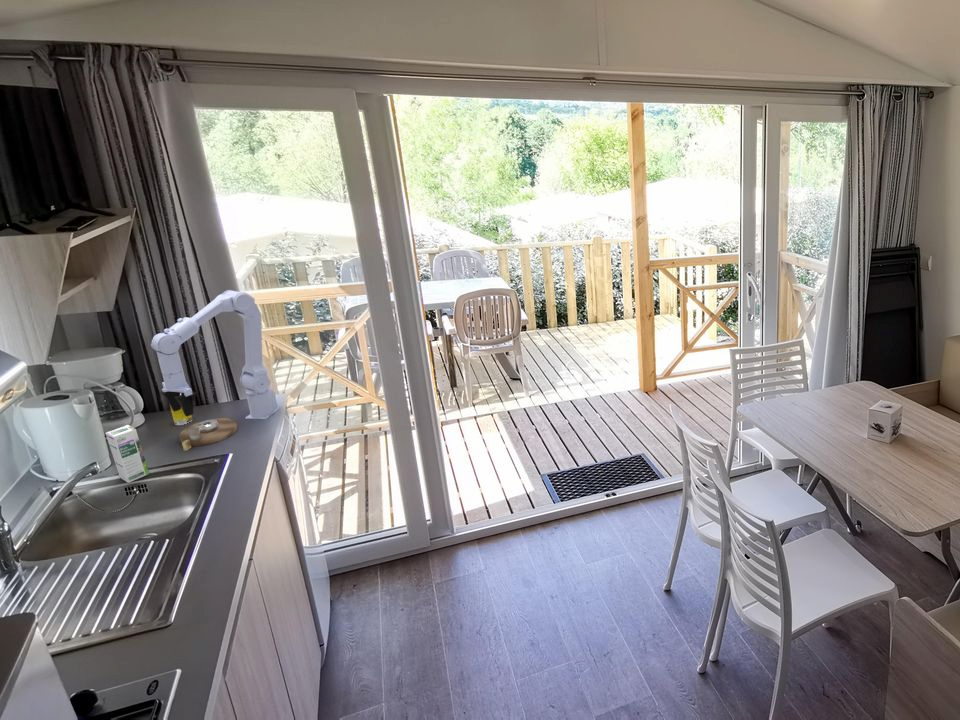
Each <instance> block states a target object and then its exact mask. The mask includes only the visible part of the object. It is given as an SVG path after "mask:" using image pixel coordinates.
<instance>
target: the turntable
mask: <svg viewBox="0 0 960 720" xmlns="http://www.w3.org/2000/svg"><path fill="white" fill-rule="evenodd" d="M209 420H217V422H218V429H216V430H215V431H212V432H209V433H200V430H199V427H198V426H197V425H198V424H199V423H201V422H203V421H204V420H202V421H199V422H196V423H194V424H191V425H189V426H188V427H186V428H184V429H183V430H181V431H180V433H179V435H178V438H179V441H180V443H181V444H182V442H184V441H185V440H190V443H191V447H202V446H208V445H211V444H215V443H219V442H221V441H224V440H226V439H228V438H230V437H231V436H233V435H234V434H235V433H236V432H237V431H238V424H237V421H236V420H235V419H233V418H227V417H219V418H217V417H216V418H211V419H209Z"/></svg>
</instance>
